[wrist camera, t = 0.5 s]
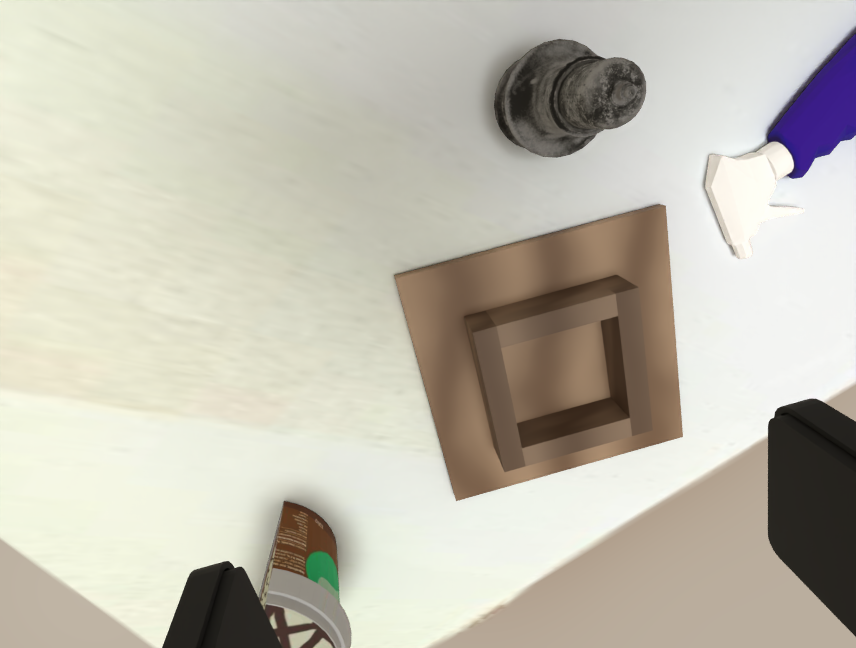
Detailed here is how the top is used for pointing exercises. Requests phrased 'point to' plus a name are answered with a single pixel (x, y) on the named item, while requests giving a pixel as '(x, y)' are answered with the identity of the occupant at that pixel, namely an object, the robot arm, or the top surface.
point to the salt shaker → (566, 97)
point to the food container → (304, 583)
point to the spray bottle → (784, 152)
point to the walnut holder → (548, 350)
